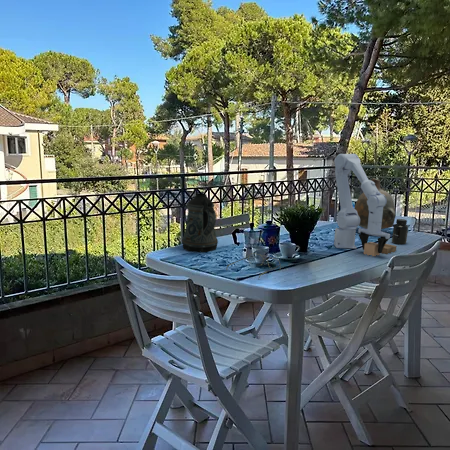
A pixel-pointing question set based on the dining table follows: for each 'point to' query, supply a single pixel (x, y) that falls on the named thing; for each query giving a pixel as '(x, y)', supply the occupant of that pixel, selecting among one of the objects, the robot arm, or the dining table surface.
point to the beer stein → (200, 225)
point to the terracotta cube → (371, 249)
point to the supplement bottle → (400, 232)
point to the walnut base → (389, 248)
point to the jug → (388, 209)
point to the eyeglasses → (261, 264)
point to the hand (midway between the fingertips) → (372, 251)
